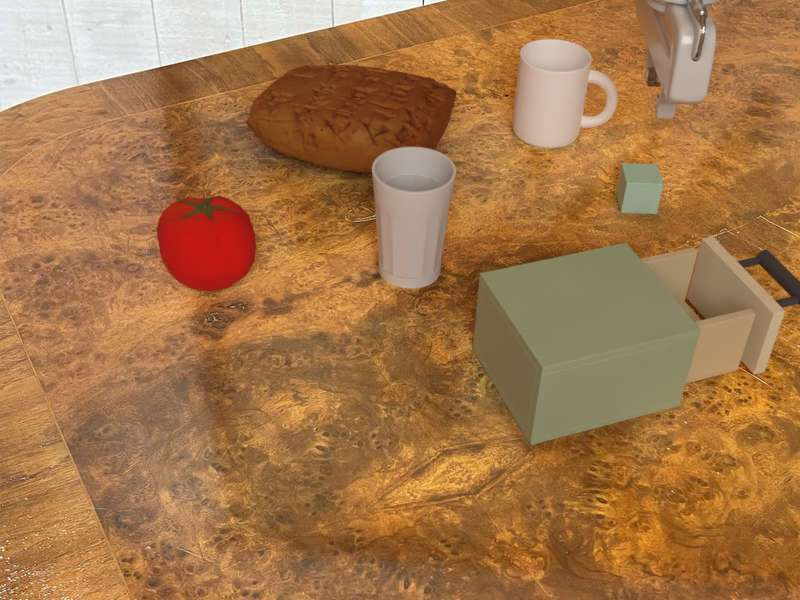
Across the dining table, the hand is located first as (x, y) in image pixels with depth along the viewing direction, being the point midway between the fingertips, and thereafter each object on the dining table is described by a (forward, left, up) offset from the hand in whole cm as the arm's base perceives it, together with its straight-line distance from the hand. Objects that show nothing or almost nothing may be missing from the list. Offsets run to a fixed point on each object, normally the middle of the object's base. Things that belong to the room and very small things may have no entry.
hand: (658, 99), depth 110 cm
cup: (+25, +13, -13) cm, 31 cm away
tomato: (+45, +15, -13) cm, 49 cm away
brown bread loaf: (+32, -9, -13) cm, 36 cm away
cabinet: (+10, +28, -13) cm, 32 cm away
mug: (+7, -14, -13) cm, 21 cm away
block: (0, 0, -13) cm, 13 cm away
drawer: (-1, +24, -12) cm, 27 cm away
